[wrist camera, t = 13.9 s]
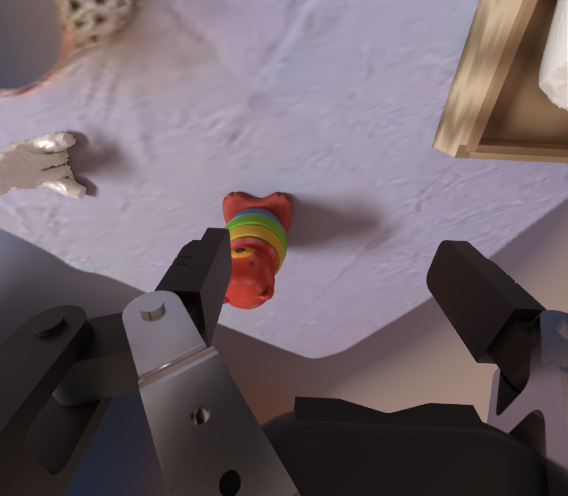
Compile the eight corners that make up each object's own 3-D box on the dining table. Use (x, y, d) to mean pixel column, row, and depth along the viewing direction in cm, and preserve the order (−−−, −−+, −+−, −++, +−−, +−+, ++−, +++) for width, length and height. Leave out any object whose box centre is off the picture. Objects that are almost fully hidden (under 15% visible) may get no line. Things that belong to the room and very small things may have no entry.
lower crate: (504, -76, 26) (559, -116, 20) (694, -66, 26) (797, -103, 20) (431, 146, 37) (455, 157, 31) (565, 153, 37) (611, 165, 31)
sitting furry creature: (90, 196, 42) (25, 234, 32) (32, 187, 41) (-53, 222, 31) (75, 132, 37) (-7, 152, 27) (9, 121, 36) (-101, 137, 26)
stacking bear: (292, 191, 40) (293, 258, 25) (291, 248, 46) (291, 330, 31) (221, 191, 41) (180, 256, 26) (229, 247, 46) (198, 328, 31)
